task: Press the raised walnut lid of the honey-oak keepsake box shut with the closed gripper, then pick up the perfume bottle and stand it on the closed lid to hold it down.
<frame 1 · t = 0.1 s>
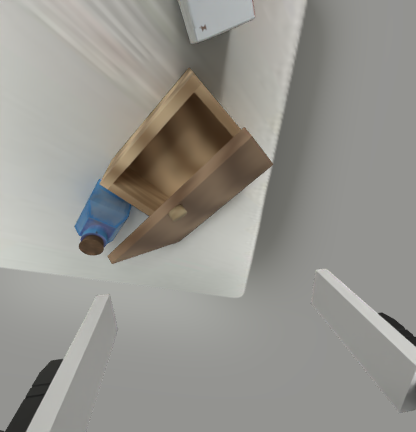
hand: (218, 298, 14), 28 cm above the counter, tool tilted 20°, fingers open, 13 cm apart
keepsake box: (181, 149, 36), on the counter
perfume bottle: (110, 199, 40), on the counter
lid: (202, 207, 27), point 14 cm above the counter, hinge at 45.0°
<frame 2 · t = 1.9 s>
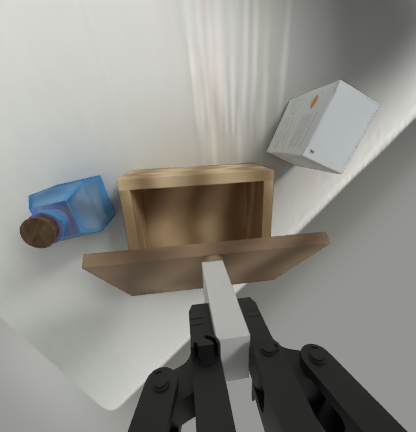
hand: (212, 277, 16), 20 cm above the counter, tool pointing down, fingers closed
keepsake box: (196, 211, 35), on the counter
perfume bottle: (87, 200, 33), on the counter
small box: (292, 133, 33), on the counter
lid: (207, 274, 23), point 14 cm above the counter, hinge at 43.4°, touching gripper
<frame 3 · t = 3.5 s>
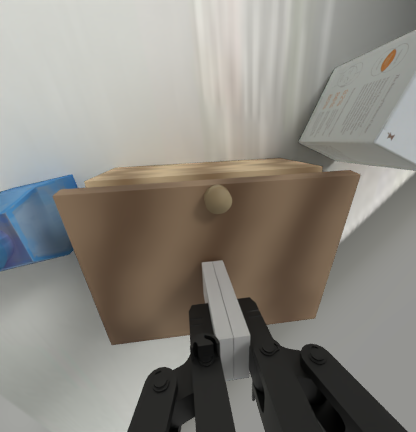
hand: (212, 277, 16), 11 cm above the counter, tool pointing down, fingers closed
keepsake box: (203, 222, 26), on the counter
perfume bottle: (56, 208, 24), on the counter
small box: (333, 117, 24), on the counter
lid: (217, 271, 17), point 10 cm above the counter, hinge at 9.2°, touching gripper
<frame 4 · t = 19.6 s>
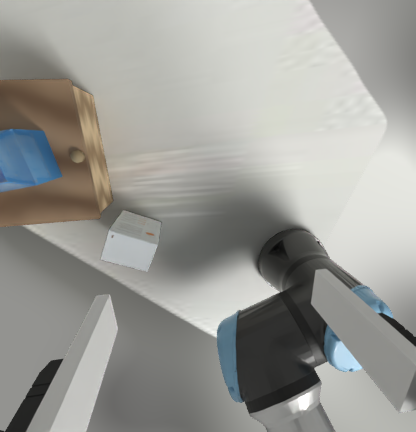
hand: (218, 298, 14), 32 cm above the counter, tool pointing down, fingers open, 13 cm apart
keepsake box: (62, 154, 39), on the counter
perfume bottle: (31, 158, 30), point 9 cm above the counter, touching lid
small box: (139, 227, 45), on the counter
lid: (30, 158, 30), point 9 cm above the counter, hinge at -0.3°, touching perfume bottle
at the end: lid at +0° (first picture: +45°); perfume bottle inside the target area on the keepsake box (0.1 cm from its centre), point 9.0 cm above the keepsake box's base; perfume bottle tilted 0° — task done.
